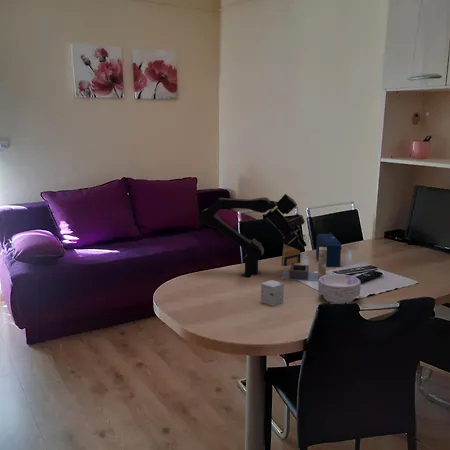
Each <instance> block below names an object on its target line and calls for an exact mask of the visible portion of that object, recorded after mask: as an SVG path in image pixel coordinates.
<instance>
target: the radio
mask: <svg viewBox="0 0 450 450" xmlns="http://www.w3.org/2000/svg"><path fill="white" fill-rule="evenodd" d="M315 245H316V248H315V252H316V253H315V256H316V258H317V259H318V260H319V247H327V255H326V268H328V267H331V268H332V267H335V268H337V267H338V268H339V267H340V266H341V256H342V255H341V254H342V244H341V242H340V241H339V239H337V238H336V236H334V234H332V233H318V235H316V244H315Z"/></svg>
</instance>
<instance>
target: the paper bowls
mask: <svg viewBox="0 0 450 450" xmlns="http://www.w3.org/2000/svg"><path fill="white" fill-rule="evenodd" d="M328 274H329V275H324V276H321V277H320V278H319V279H318V282H317V285H318V287H317V290H318V293H319V294H320V295H322V296H323V298H324V300H326V301H327V302H328V303H331V304H336V303H346V304H349V303H352V302H353V301H354V299H355V298H357V297H359V296H360V294H361V288H362V287H361V285H362V283H361V280H360V279H359V278H357V277H356V276H353V275H349V274H342V273H341V274H340V273H328Z"/></svg>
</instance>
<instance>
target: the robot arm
mask: <svg viewBox="0 0 450 450" xmlns="http://www.w3.org/2000/svg"><path fill="white" fill-rule="evenodd" d="M297 206H298V203H297V202H296V201H295V199H293V198H292V197H291V196H289V195H288V194H287V193H285V194H284V195H283V196H281V198H280V199H279V200H278V201H276V200H270V198H269V197H256V198H252V199H247V198H226V197H219V198H217V199H216V200H215V201H214V203H213V204H211V205H210V206H209V207H208V208H205V209H203V210H202V211H200V213H199V214H198V220H199V221H200V222H201V223H202V224H204V225H207V226H208V227H211V228H215V229H216V230H217V231H219V232H220V233H222V234H223V235H224V236H226V238H228V239H230V240H231V241H233V242H234V243H235V244H237V245H238V246H240V247H241V248H242V250H243V251H244V253H245V256H244V257H243V259H242V260H243V263H244V272H243V273H241V276H243V277H249V278H251V277H252V276H253V275H257V274H259V259H261V258H262V256H263V254H264V252H265V249H264V246H263V245H262V242H259V241H258V240H257V239H256V238H255V237H254V238H253V239H249V238H247V237H245V236H244V235H243V234H242V233H240V232H238V230H236V229H234V228H233V227H232V226H230V225H229V224H228V223H226V222H225V221H224V220H223V219H222V218H221V217H220V215H219V214H218V213H219V211H220V210H222V209H223V208H225V209H226V208H227V209H241V210H242V209H243V210H250V211H253V212H257V213H260V214H262V216H261V217H262V222H265V221H266V220H268V221H269V222H270V223H271V225H273V226H274V227H275V230H276V231H279V233H280V234H281V235H282V243H283V245H284V244H285V245H287V246H290V247H292V248H295V249H297V250H300V252H303V253H305V252H306V248H305V247H307V246H308V245H307V242H306V241H305V239H304V238H303V235H302V234H301V231H302V230H301V227H300V226H301V225H304V224H305V222H306V221H305V218H304V216H303V214H299V213H296V214H294V217H293V218H291V219H289V218H288V217H285V216H284V214H286V215H288V214H289V213H291V212H292V211H293V210H294V209H295V208H296V207H297ZM263 213H264V214H263Z"/></svg>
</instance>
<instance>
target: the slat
mask: <svg viewBox="0 0 450 450" xmlns="http://www.w3.org/2000/svg"><path fill="white" fill-rule="evenodd" d="M326 255H327V247H319V259H318V268H317V269H318V270H317V271H318V272H317V273H318V279H319V278H320V277H321V276H324V275H326V272H327V266H326Z"/></svg>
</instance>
